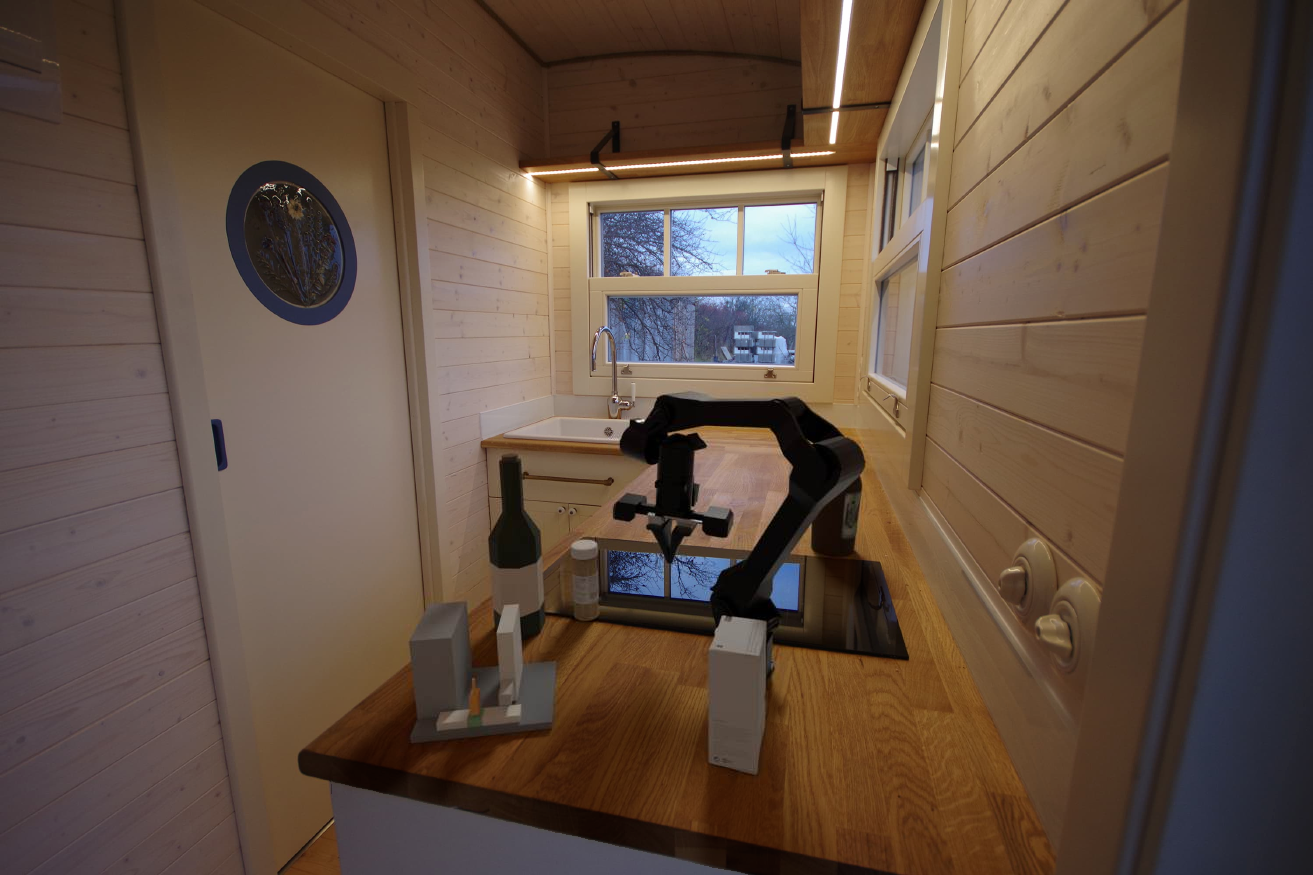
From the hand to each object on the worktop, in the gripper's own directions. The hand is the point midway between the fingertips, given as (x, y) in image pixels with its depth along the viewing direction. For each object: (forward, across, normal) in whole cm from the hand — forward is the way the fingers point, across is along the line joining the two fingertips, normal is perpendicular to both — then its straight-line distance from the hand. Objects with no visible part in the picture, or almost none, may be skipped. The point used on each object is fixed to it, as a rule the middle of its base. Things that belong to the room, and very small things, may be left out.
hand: (670, 562), depth 86 cm
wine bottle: (+13, +24, +7) cm, 28 cm away
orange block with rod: (+9, +17, +29) cm, 35 cm away
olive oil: (+12, -27, -42) cm, 51 cm away
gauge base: (+12, +18, +25) cm, 33 cm away
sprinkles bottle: (+13, +14, +1) cm, 19 cm away
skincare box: (+11, -15, +22) cm, 29 cm away
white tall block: (+11, +15, +24) cm, 30 cm away
